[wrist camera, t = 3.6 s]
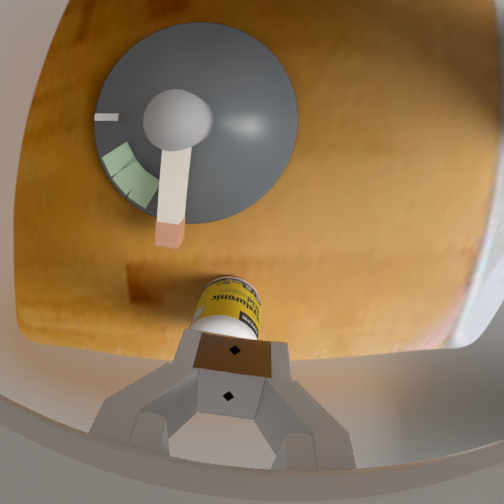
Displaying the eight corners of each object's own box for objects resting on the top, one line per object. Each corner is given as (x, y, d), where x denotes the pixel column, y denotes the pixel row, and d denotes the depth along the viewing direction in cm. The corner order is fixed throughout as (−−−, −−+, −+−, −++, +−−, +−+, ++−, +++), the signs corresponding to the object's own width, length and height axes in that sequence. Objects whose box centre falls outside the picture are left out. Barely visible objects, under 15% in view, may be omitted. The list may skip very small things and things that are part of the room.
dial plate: (310, 39, 19) (313, 34, 18) (277, 233, 26) (278, 239, 24) (115, 29, 19) (108, 25, 18) (97, 207, 25) (89, 211, 24)
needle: (164, 93, 20) (147, 88, 17) (217, 96, 20) (208, 91, 17) (152, 231, 24) (135, 247, 21) (200, 238, 24) (190, 256, 21)
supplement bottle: (272, 292, 28) (274, 368, 19) (241, 333, 30) (232, 412, 21) (218, 262, 27) (196, 331, 18) (191, 307, 29) (164, 381, 20)
